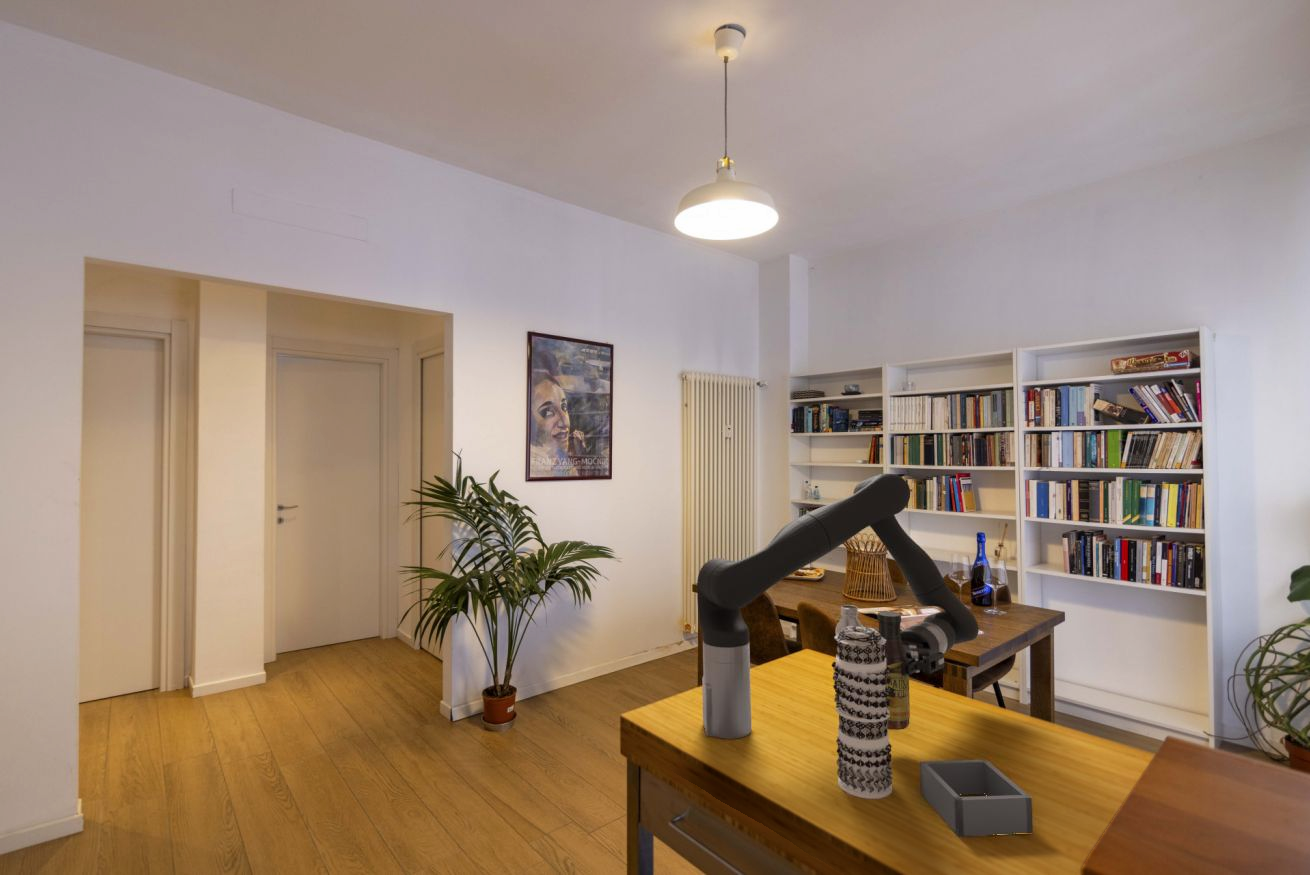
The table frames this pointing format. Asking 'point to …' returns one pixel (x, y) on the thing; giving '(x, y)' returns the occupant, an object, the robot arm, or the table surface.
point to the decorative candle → (862, 713)
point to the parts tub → (975, 798)
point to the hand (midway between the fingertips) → (884, 666)
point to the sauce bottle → (895, 670)
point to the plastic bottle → (847, 619)
